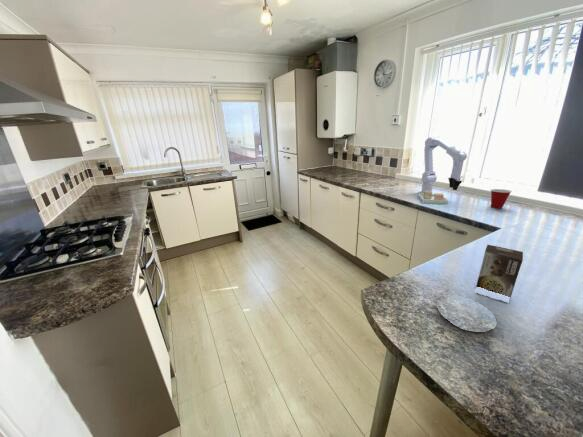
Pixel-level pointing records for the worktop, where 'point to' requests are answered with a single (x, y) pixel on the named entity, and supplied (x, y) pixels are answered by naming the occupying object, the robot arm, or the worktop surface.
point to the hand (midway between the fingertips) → (453, 188)
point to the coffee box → (499, 270)
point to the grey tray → (432, 199)
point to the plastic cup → (499, 197)
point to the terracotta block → (438, 196)
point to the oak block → (427, 194)
